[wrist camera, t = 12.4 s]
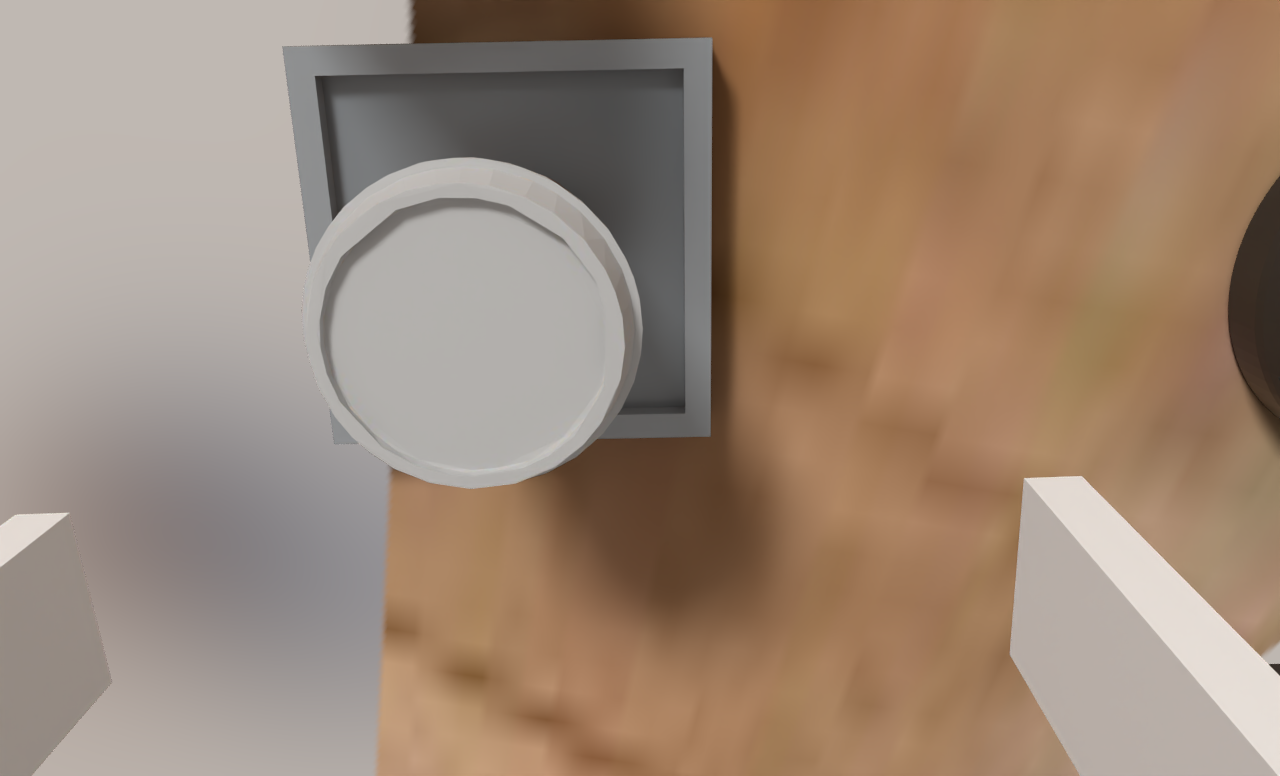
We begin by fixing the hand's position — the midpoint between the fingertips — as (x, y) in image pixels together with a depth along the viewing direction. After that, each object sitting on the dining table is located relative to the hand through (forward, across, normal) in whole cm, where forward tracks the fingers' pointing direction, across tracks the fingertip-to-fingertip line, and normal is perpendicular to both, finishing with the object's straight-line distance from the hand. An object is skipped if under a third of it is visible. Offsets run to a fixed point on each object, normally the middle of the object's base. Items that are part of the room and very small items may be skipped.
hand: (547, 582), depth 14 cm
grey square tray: (+27, +4, 0) cm, 27 cm away
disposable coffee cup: (+26, +4, 0) cm, 26 cm away
